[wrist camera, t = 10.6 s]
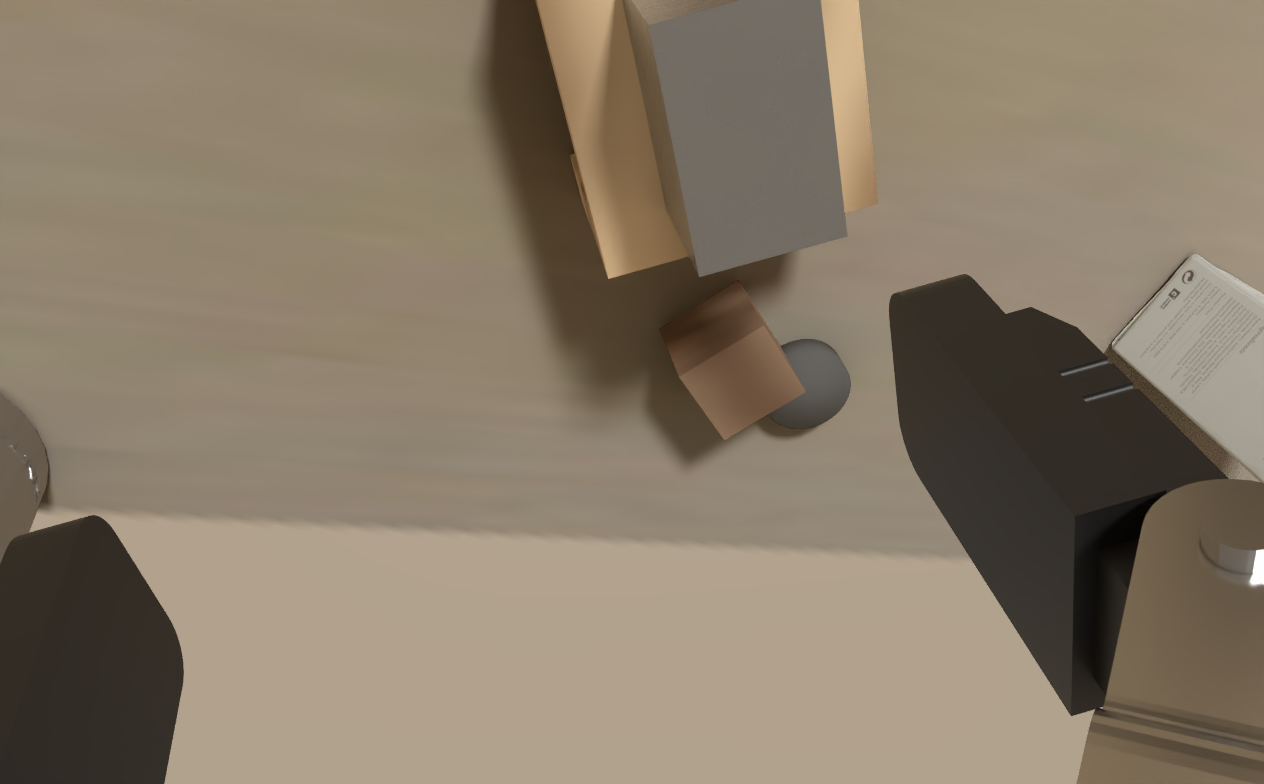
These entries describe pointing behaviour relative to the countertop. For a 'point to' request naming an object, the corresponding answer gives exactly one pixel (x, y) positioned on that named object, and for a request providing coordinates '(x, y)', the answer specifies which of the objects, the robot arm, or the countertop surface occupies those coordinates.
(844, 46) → the stand
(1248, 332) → the skincare box
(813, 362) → the rubber puck
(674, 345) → the walnut block
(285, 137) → the countertop surface
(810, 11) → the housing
